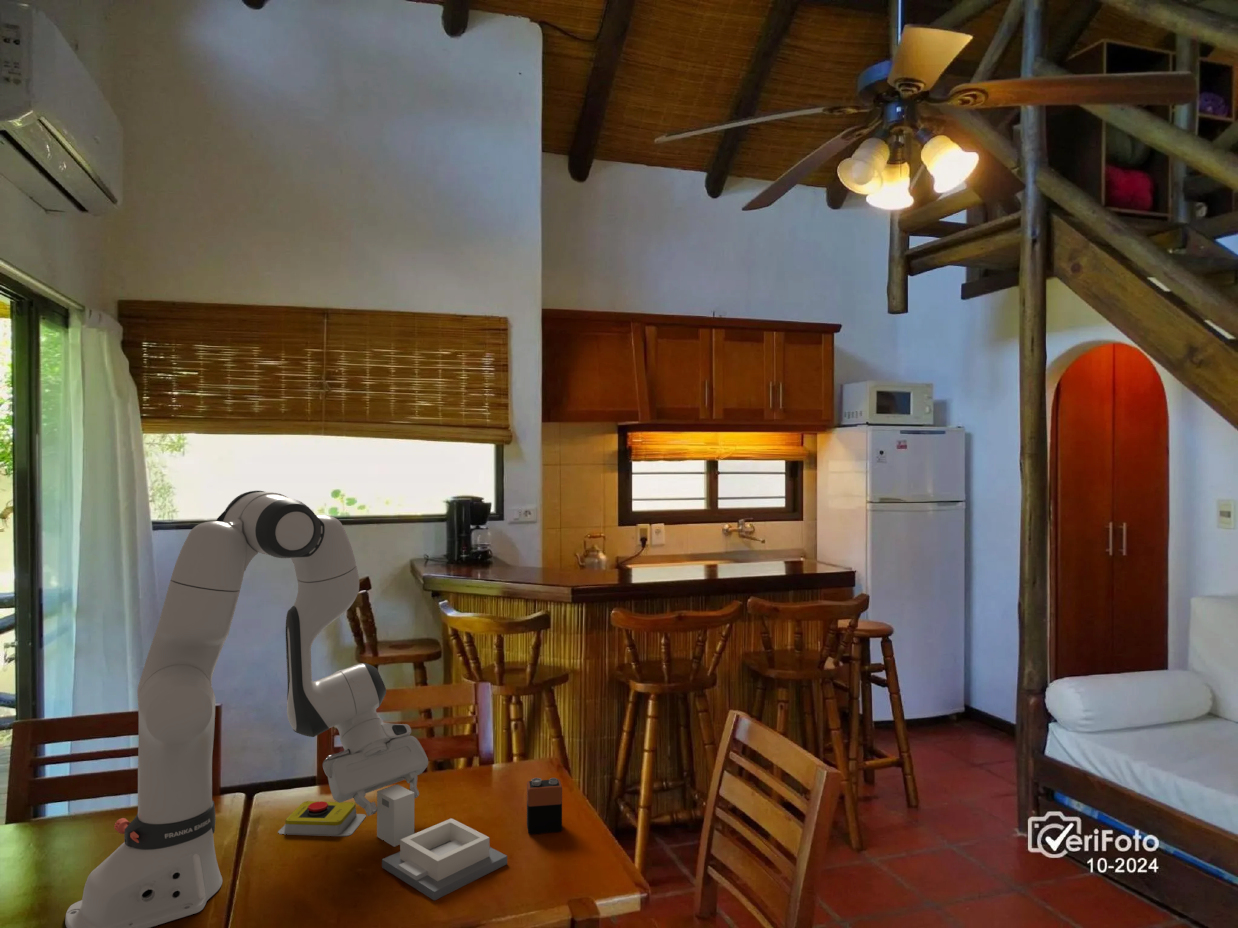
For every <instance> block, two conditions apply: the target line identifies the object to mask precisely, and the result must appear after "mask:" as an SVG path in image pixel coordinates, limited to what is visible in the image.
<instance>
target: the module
mask: <svg viewBox="0 0 1238 928" xmlns="http://www.w3.org/2000/svg"><path fill="white" fill-rule="evenodd" d="M376 807H377V812H376V837H377V838H379V839H380V840H382V841H383V840H384V841H383V842H385V843H387V844H389V845H390V846H392V847H397V846H400V840H401V839H403V838H405V837H408V836H410V835H413V834H415V798H414V792H412V791H410V790H409V789H407V787H404V786H402V785H400V784H396V783H395V784H394V785H393V784H392V785H389V786H387V787H384V788H381V789H380V790H379V789H378V790H377V791H376Z"/></svg>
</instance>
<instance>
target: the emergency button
mask: <svg viewBox="0 0 1238 928" xmlns="http://www.w3.org/2000/svg"><path fill="white" fill-rule="evenodd" d="M356 805H357V804H356V802H355V801H354V802H353V801H351V802H349V801H344V802H341V803H339V802H337V801H319V800H318V801H316V800H315V801H311V800H310V801H309V800H308V801H303V802H302V803H301V804H299V806H298V807H296V808H295V810H294V811H292V812H291V813H290V815H289V816H287V817H286V819H285V822H284V823H285V824H284V825H283V826H282V827H281V828H280V829H279V830H278V831H277V834H278V833H279V834H278V835H282V834H284V835H286V834H287V836H288V835H291V836H292V835H293V836H319V837H320V836H322V837H323V836H324V837H325V836H326V837H330V836H331V837H349V836H352V835H353V834H354V833H355V832H356V830H357V829H358V828H359V826H360V825H361V824H362V823H363V822H364V820H365V819H366V818H367V814H365V813H357V806H356Z"/></svg>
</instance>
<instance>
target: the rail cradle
mask: <svg viewBox="0 0 1238 928" xmlns="http://www.w3.org/2000/svg"><path fill="white" fill-rule="evenodd" d="M399 847H400V848H399V849H400V851H398V852H395V853H393V854H390V855H388V856H386V857H385V858H384V857H383V858H382V859H381V868H382V869H384V870H385V871H387V872H388V873H390V874H392V875H393V876H395V877H396V878H398V879H400V880H401V881H402V882H404V883H405V884H408V885H409V886H411V887H412V888H414V889H415V890H416V891H418V892H420V893H421V894H423V895H424V896H426V897H428V898H429V899H431V900H433V901H436V900H437V901H438V899H441V898H442V897H444V896H447V895H448V894H450V893H452V892H455V891H456V890H459V889H461V888H462V887H464V886H466V885H469V884H470V883H473V882H474V881H477V880H478V879H480V878H483V877H484V876H486V875H488V874H490V873H492V872H494V871H497V870H498V869H501V868H502V867H504V866H506V865H508V855H507V854H504V853H502V852H500V851H499V850H497V849H495V848H493V847H491V846H490V837H489V836H487V835H486V834H484V833H482V832H479V831H477V830H476V829H475V828H472V827H471V826H467V825H466V824H464V823H462V822H460V821H458V820H456V819H454V818H451V817H450V818H449V819H446V820H444V821H441V822H439V823H437V824H435V825H432V826H430V827H427V828H425V829H422V830H421V831H418V832H414V834H413V835H410V836H408V837H405V838H403V839H401V840H400V845H399Z"/></svg>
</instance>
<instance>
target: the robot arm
mask: <svg viewBox="0 0 1238 928" xmlns="http://www.w3.org/2000/svg"><path fill="white" fill-rule="evenodd" d="M347 534H348V533H347V532H346V530H345V527H344V526H343V524H342V522H341V521H340V520H339V519H338V518H336V517H334V516H332V515H327V514H317V515H316V514H315V513H314V511H313V510H312V509H311V508H310V507H309V506H308V505H306V503H304V502H302V501H300V500H298V499H295V498H290V497H288V496H287V495H284V494H281V493H279V492H278V493H277V492H270V491H264V490H250V491H247V492H243V493H241V494H239V495H238V496H236V497H235V498H233V499H232V501H230V503H229V504H228V505H227V507H225V510H224V511H223V512H222V513H221V514H220V515H219V516H218V517H217V518H216V520H213V521H212V520H211V521H204V522H201V523H199V524H197V525H195V526H194V527H192V529H191V530H190V531H189V532H188V535H187V536H186V539H185V540H184V542H183V544H182V547H181V550H180V552H179V554H178V556H177V559H176V562H175V564H174V566H173V569H172V572H171V578H170V581H169V584H168V587H167V590H166V591H167V592H166V595H165V599H164V601H163V605H162V609H161V613H160V616H159V620H158V623H157V627H156V630H155V633H154V636H153V639H152V641H151V645H150V647H149V650H148V653H147V657H146V659H145V660H146V661H145V663H144V665H143V669H142V673H141V675H140V679H139V683H138V687H137V707H138V708H137V709H138V751H137V752H138V753H137V754H138V758H137V759H138V761H137V814H136V816H135V817H134V818H133V820H132V821H129V820H128V819H127V818H125V817H122V818H119V819H118V820H116V821H115V823H114V826H113V827H114V830H115V831H117V832H118V834H120V835H123V834H124V837H123V838H124V842H123V843H121V844H120V845H119V846H118V847H117V848H116V849H115V850H114V851H113V852H112V853H110V855H109V856H108V857H106V858H105V859H104V860H103V861H102V862H101V863H100V864H99V865H98V866H97V867H95V868H94V869H93V870H92V871H91V872H90V873H89V874H88V876H87V879H86V881H85V884H84V887H83V892H82V899H81V900H78V901H76V902H74V903H73V904H71V905H70V906H69V907H68V908H67V911H66V913H65V917H64V918H65V920H64V922H65V923H64V924H65V928H153V927H156V926H158V925H163V924H165V923H169V922H172V921H176V920H178V919H182V918H185V917H188V916H191V915H193V914H197V913H200V912H201V911H202V910H203V909H204V908H205V906H206V904H207V901H208V900H209V899H211V898H212V897H213V896H214V895H215V894H216V893H217V892H218V891H219V890H220V888H221V887H222V885H223V877H222V875H221V874H222V873H221V872H220V868H219V864H218V860H217V856H216V854H217V853H216V848H215V841H214V834H215V831H216V808H215V807H216V806H215V801H214V800H213V750H214V739H215V722H216V719H215V718H216V696H215V695H216V694H215V692H214V689H213V687H212V685H213V684H212V683H213V682H212V680H213V675H214V672H215V668H216V665H217V663H218V661H219V658H220V655H221V653H222V650H223V647H224V644H225V641H226V640H227V638H228V636H229V633H230V630H231V627H232V623H233V622H232V621H233V619H234V618H233V617H234V614H235V611H236V608H237V607H236V606H237V604H238V600H239V595H240V592H241V589H242V584H243V580H244V573H245V572H246V570H247V568H248V565H249V563H251V561H253V560H252V559H254V557H256V556H257V555H258V554H262V555H267V556H271V557H274V558H277V559H291V560H292V563H293V566H294V572H295V577H296V579H297V595H296V598H295V601H294V604H293V605H292V606H291V607H290V608H289V609H288V610H287V612H286V617H285V652H286V653H285V654H286V656H285V657H286V673H287V674H286V676H287V690H286V691H287V692H286V693H287V694H286V695H287V696H286V702H287V703H286V715H287V720H288V722H289V725H290V726H291V728H292V730H293V732H294V733H297V734H299V735H301V736H306V737H309V738H315V737H317V736H319V735H320V734H323V733H324V732H326V731H328V730H330V728H331V729H332V728H334V727H335V728H336V729H337V730H338V733H339V741H340V743H341V745H342V747H343V750H342V751H340V752H336V753H332V754H329V755H328V756H327V755H326V758H325V759H324V760H323V762H322V768H323V771H324V774H325V775H326V777H327V781H328V786H329V790H330V793H331V796H332V799H333V800H334V802H339V803H341V802H347V801H349V800H352V799H353V800H354V803H355V804H356V805H358V806H359V807H361V808H362V809H364V811H365V813H366V814H365V815H366V816H367V817H369V816H372V815H375V814H377V803H376V801H372V802H370V801H369V799H367V798H366V794H368V793H371V792H374V791H376V790H377V791H378V790H379V789H380V790H381V789H384V788H386V787H389V786H392V785H393V784H394V785H395V784H396V783H400V782H402V781H406V783H407V784H409V789H408V790H410V791H412V792H414V799H417V798H418V797H419V796H420V792H419V789H418V787H417V785H418V775H421V774H423V772H424V771H425V770H426V768H427V767H428V764H429V759H428V757H427V754H426V752H425V749H424V748H423V747H422V744H421V743H420V741H419V740H418V739H417V738H416V737H415V736H413V735H410V734H411V733H412V728H411V726H410V725H409V724H407V723H405V724H404V723H402V724H401V723H389V722H384V720H383V719H382V718H381V717H380V716H379V714H378V713H377V709H379V708H380V707H381V704H382V703H383V701H384V699H385V696H387V689H386V685H385V683H384V681H383V679H382V677H381V674H380V672H379V670H378V668H376V667H375V666H373V665H371V664H369V663H365V662H363V663H362V662H361V663H358V664H354V665H351V666H349V667H347V668H344V669H343V668H342V669H340V670H337V671H335V672H333V673H332V674H330V675H327V676H324V677H322V678H319V679H317V680H313V673H312V672H313V671H312V668H313V667H312V645H313V643H314V641H315V640H316V638H317V637H318V635H319V634H321V633H322V632H323V631H324V629H325V628H327V627H328V626H330V624H332V623H333V622H334V621H336V620H337V619H338V618H340V617H341V616H342V615H344V613H347V611H348V610H349V609H350V608H351V607H352V605H353V604H354V602H355V601H356V600H357V597H358V594H359V591H360V578H359V577H360V576H359V571H358V567H357V563H356V562H357V561H356V558H355V555H354V551H353V547H352V545H351V541H350V539H349V537H348V535H347Z"/></svg>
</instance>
